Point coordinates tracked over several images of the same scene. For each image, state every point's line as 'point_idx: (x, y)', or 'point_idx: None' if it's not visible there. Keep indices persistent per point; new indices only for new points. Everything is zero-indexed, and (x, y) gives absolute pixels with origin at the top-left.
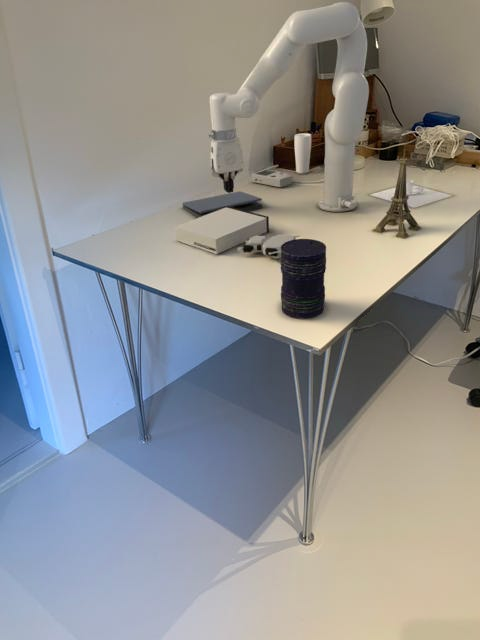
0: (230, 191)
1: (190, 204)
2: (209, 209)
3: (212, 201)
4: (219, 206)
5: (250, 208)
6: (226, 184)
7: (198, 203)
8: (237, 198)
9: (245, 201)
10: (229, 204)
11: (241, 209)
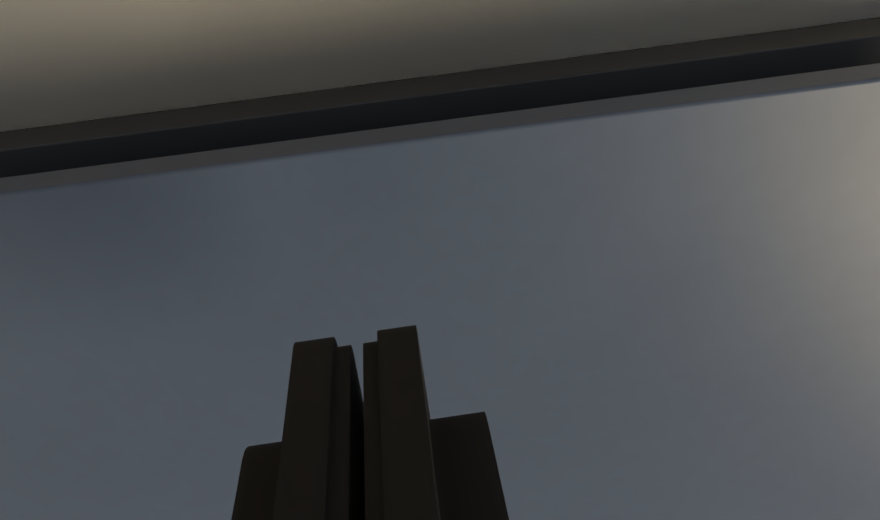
0: (373, 347)
1: (874, 515)
2: (878, 80)
3: (565, 502)
4: (629, 167)
5: (23, 137)
6: (475, 517)
7: (768, 508)
8: (166, 464)
9: (66, 211)
10: (417, 188)
11: (200, 119)
